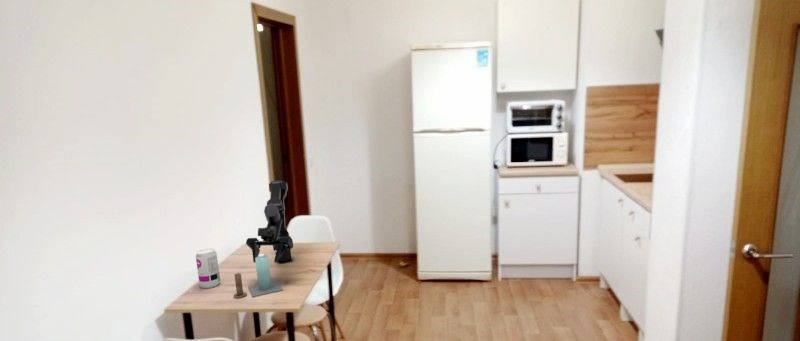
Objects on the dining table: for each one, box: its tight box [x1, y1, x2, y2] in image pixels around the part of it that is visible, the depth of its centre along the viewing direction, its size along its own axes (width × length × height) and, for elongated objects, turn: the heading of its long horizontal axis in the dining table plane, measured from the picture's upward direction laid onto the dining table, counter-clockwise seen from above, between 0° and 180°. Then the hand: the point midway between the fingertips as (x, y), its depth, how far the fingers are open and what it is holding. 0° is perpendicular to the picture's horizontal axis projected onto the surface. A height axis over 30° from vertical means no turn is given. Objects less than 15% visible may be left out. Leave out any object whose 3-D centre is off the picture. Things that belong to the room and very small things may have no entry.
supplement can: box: [195, 248, 221, 289], centre depth 195 cm, size 8×8×15 cm
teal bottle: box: [255, 253, 272, 290], centre depth 186 cm, size 5×5×14 cm
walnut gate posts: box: [233, 272, 248, 300], centre depth 188 cm, size 21×5×9 cm, turn 161°
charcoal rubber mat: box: [247, 279, 284, 298], centre depth 187 cm, size 12×12×1 cm
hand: (264, 262), depth 188 cm, fingers open, 9 cm apart
